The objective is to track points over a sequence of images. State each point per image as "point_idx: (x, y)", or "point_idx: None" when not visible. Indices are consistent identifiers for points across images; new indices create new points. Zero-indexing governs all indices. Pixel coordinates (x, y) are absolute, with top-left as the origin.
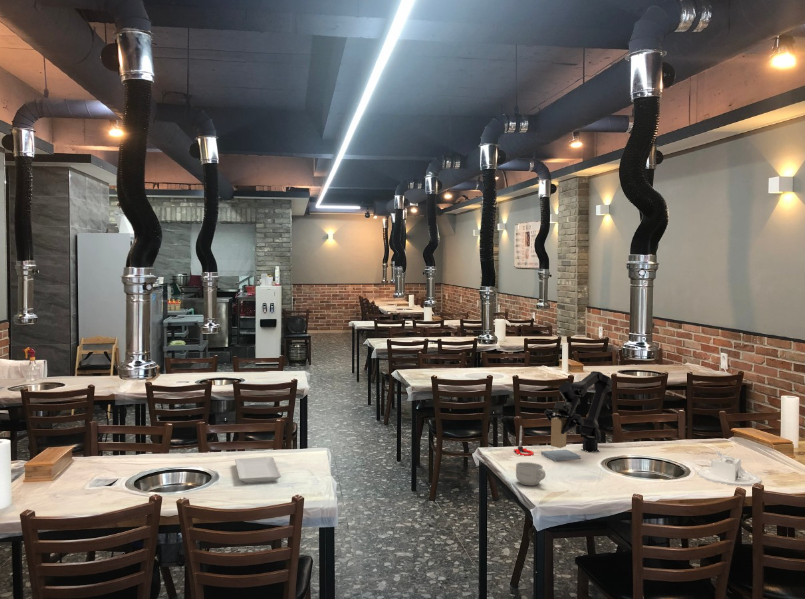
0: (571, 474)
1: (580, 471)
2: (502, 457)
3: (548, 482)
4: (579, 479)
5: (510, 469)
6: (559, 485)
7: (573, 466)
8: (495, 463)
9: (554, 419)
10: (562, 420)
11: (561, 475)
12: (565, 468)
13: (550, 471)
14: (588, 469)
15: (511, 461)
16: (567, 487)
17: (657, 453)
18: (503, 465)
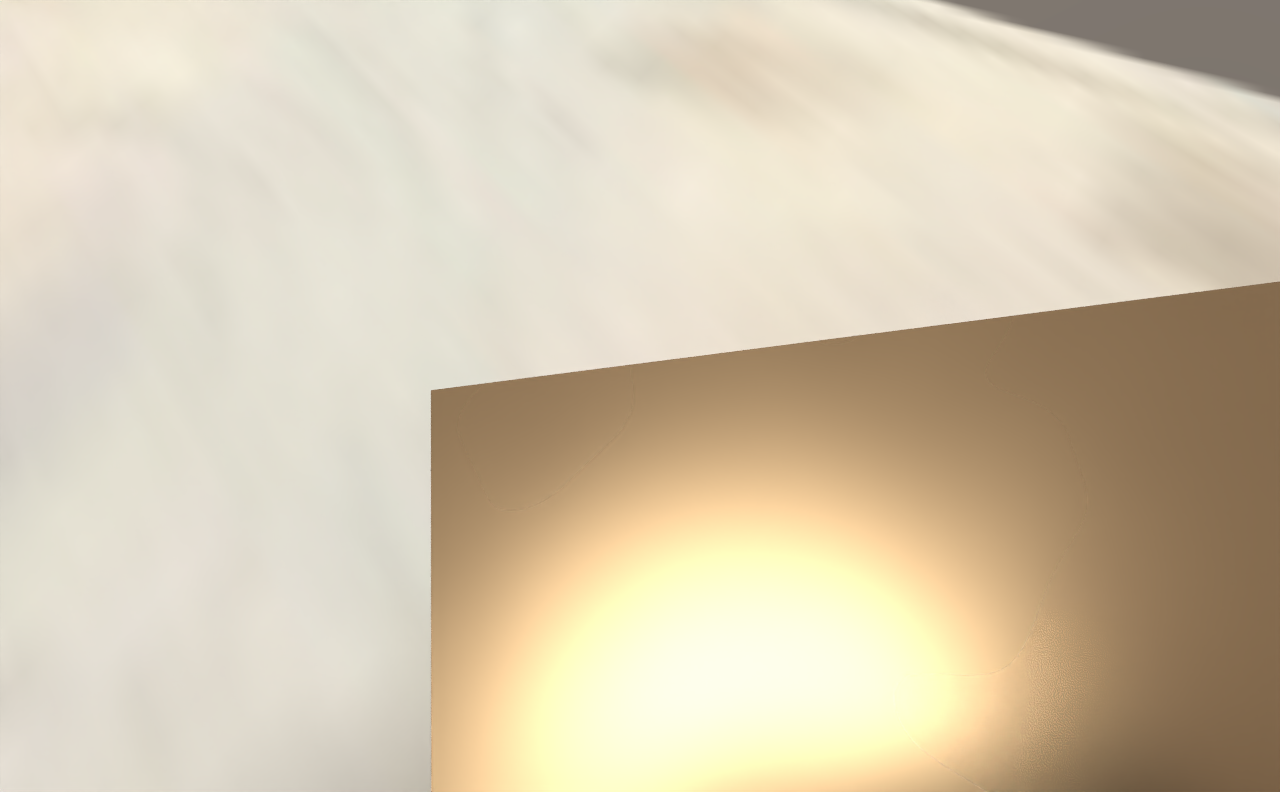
0: (202, 359)
1: (168, 567)
2: (1269, 250)
3: (255, 6)
4: (43, 281)
5: (773, 17)
6: (133, 16)
7: (373, 714)
8: (1042, 40)
9: (1135, 329)
10: (462, 726)
11: (274, 243)
12: (400, 515)
13: (454, 262)
14: (113, 773)
15: (1043, 212)
16: (49, 26)
17: None
18: (933, 52)
